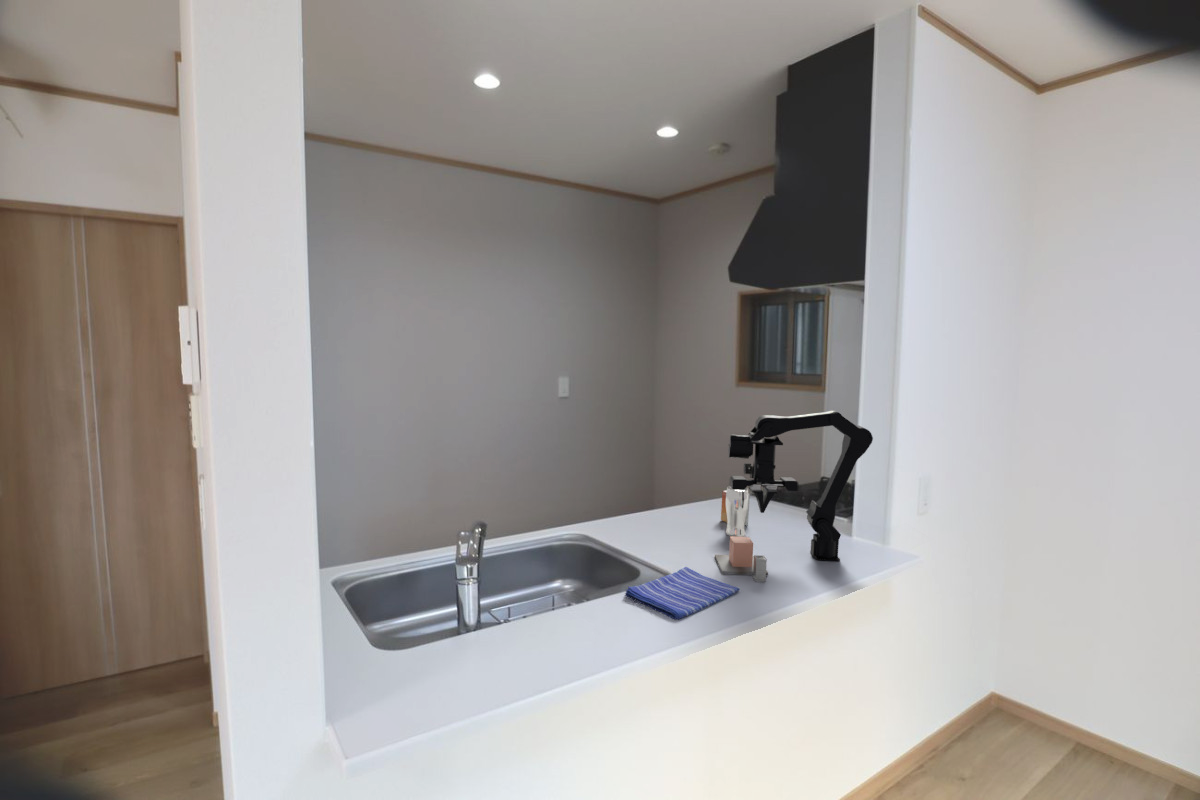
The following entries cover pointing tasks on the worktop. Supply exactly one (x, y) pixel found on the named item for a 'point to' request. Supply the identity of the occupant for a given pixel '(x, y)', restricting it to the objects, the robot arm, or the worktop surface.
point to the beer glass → (736, 511)
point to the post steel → (759, 568)
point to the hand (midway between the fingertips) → (761, 512)
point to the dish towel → (681, 593)
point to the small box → (724, 513)
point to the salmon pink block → (741, 551)
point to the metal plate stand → (729, 569)
